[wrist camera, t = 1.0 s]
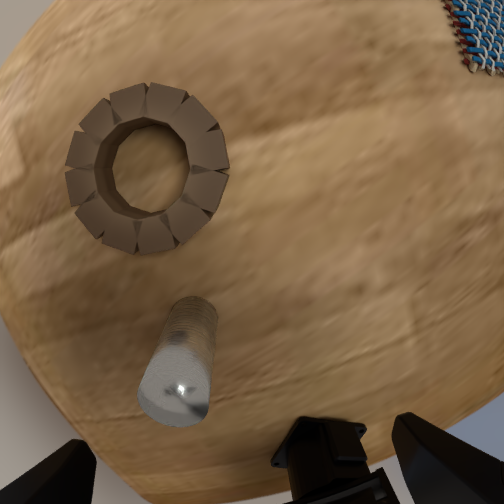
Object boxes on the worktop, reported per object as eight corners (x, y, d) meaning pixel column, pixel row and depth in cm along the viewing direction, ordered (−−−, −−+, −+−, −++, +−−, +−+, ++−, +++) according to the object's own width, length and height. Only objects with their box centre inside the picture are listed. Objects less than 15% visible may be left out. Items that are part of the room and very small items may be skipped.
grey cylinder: (210, 344, 20) (198, 434, 12) (166, 330, 19) (133, 414, 12) (224, 305, 19) (217, 388, 11) (177, 290, 19) (143, 365, 11)
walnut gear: (200, 261, 18) (194, 275, 16) (73, 217, 17) (52, 224, 15) (249, 119, 16) (251, 110, 14) (113, 82, 15) (96, 71, 13)
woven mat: (532, 88, 16) (546, 86, 14) (460, 73, 16) (476, 67, 14) (499, -7, 14) (511, -13, 12) (419, -35, 14) (431, -46, 12)
